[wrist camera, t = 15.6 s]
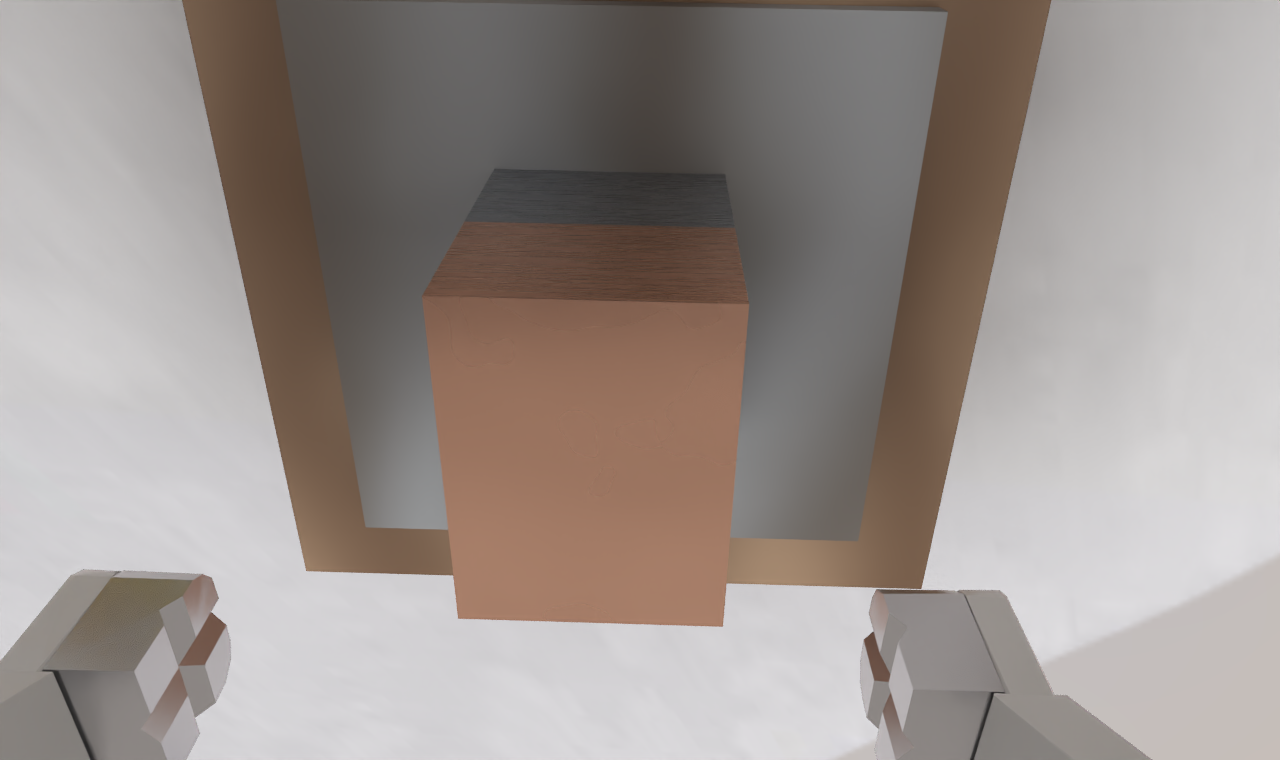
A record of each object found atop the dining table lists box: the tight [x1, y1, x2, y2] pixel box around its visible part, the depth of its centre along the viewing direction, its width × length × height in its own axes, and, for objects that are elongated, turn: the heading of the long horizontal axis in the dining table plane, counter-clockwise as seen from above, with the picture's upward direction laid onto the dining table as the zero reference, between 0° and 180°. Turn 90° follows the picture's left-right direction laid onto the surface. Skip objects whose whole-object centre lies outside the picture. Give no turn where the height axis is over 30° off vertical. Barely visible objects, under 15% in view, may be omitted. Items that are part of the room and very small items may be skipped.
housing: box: [422, 169, 749, 627], centre depth 17 cm, size 4×6×6 cm
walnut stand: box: [182, 0, 1051, 589], centre depth 22 cm, size 16×16×6 cm
